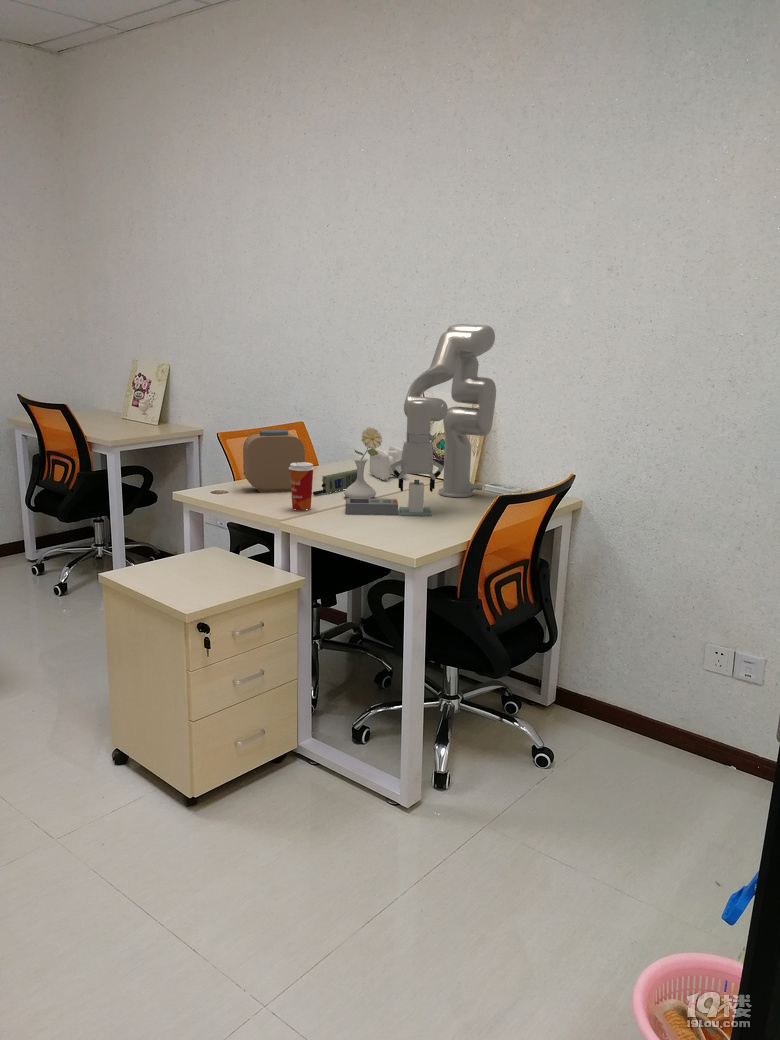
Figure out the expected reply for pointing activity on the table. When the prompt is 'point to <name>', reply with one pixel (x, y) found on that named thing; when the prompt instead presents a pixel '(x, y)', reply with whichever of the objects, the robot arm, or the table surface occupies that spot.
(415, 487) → the block
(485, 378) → the robot arm
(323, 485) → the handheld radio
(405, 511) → the mat
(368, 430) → the flower in vase
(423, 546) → the table surface
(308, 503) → the coffee cup
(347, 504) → the power strip
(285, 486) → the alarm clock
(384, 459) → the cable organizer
